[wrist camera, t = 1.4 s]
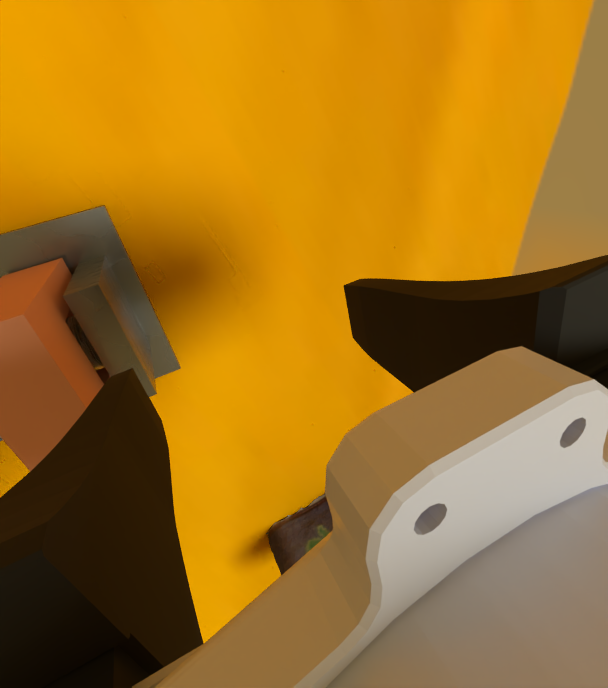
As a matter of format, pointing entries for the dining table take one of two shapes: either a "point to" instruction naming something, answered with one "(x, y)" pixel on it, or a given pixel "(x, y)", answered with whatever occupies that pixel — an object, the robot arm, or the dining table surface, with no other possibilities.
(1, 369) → the orange block
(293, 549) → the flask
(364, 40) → the dining table surface
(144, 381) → the pipe rig
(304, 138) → the dining table surface
